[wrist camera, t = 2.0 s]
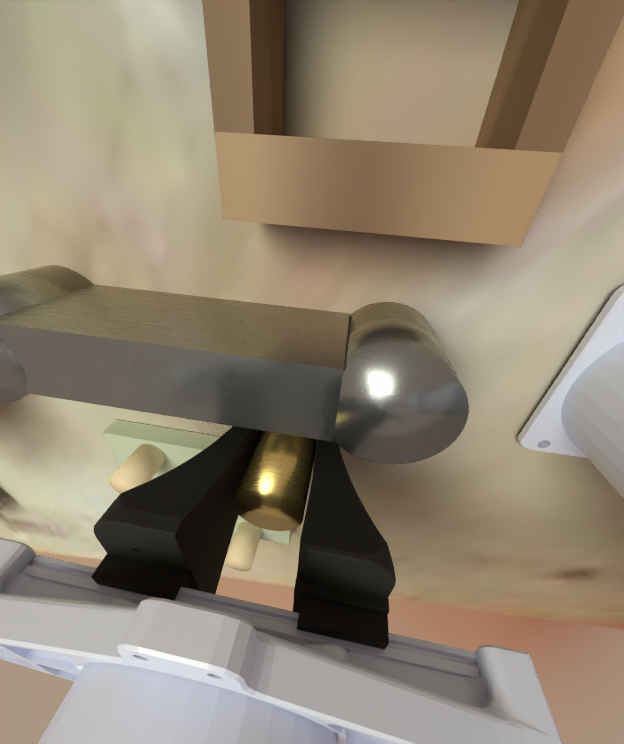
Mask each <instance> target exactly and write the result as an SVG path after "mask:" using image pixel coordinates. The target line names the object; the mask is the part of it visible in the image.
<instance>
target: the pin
mask: <svg viewBox="0 0 624 744" xmlns="http://www.w3.org/2000/svg"><path fill="white" fill-rule="evenodd" d="M315 450H316V439H313V438H306V437H300V436H294V435H287V434H281V433H275V432H269V431H263V432H262V435H261V437H260V439H259V442H258V444H257V446H256V449H255V451H254V454H253V456H252V458H251V461H250V463H249V465H248V468H247V470H246V472H245V475H244V477H243V480H242V482H241V484H240V487H239V489H238V491H237V494H236V496H235V498H234V508H235V510H236V511H237V513H238V514H239V515H240V516H241V517H242V518H243V519H244V520H246V521H247V522H249V523H251V524H252V525H255V526H257V527H260V528H263V529H267V530H272V531H287V530H291V529H294V528H296V527H298V526H299V525H300V524H301V523H302V520H303V516H304V510H305V505H306V499H307V494H308V488H309V483H310V477H311V472H312V467H313V461H314V456H315Z"/></svg>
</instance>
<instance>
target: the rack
mask: <svg viewBox="0 0 624 744" xmlns="http://www.w3.org/2000/svg"><path fill="white" fill-rule="evenodd" d="M102 434H103V436H104V438H105V440H106V442H107V444H108V446H109V448H110V450H111V452H112V454H113V457H114V459H115V461H116V463H117V465H118V467H119V469H118V470H117V471H116V472H115V473H114V475H113V476H112V477H111V478H110V479H109V484H110V485H111V487H112V488H113V489H114V490H116V491H117V492H119V493H120V494H121V493H122V492H125V491H127V490H130V489H132V488H134V487H137V486H139V485H141V484H144V483H146V482H148V481H150V480H152V479H154V478H156V477H158V476H160V475H162V474H164V473H166V472H168V471H170V470H172V469H174V468H176V467H177V466H179V465H181V464H182V463H184V462H186V461H187V460H189V459H191V458H192V457H194V456H195V455H197V454H198V453H200V452H201V451H203V450H204V449H206V448H207V447H208V446H210V445H211V444H212V443H214V442H215V441H216V440H217V439H219V438H220V437H219V436H213V435H207V434H201V433H195V432H189V431H183V430H177V429H171V428H165V427H159V426H153V425H147V424H141V423H135V422H129V421H123V420H117V419H116V420H115V421H114V422H113V423H112V424H111V425H110V426H109V427H107V428H106V429H105V430H104V431H103V432H102ZM233 534H235V536H234V539H233V541H232V544H231V547H230V549H229V552H228V555H227V557H226V560H225V563H226V564H227V565H228V566H229V567H230V568H232V569H235V570H238V571H249V570H250V569H251V566H252V563H253V560H254V556H255V553H256V550H257V546H258V543H259V540H260V539H263V540H268V541H273V542H278V543H283V544H288V545H289V543H290V539H291V534H292V529H291V530H287V531H272V530H267V529H263V528H260V527H257V526H255V525H252V524H251V523H249V522H247V521H246V520H244V519H243V518H242V517H241V516H240V515H239V516H238V519H237V522H236V525H235V528H234V531H233Z"/></svg>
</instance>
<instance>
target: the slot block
mask: <svg viewBox="0 0 624 744" xmlns="http://www.w3.org/2000/svg"><path fill="white" fill-rule="evenodd" d="M202 4H203V14H204V25H205V35H206V46H207V56H208V67H209V77H210V88H211V98H212V109H213V119H214V129H215V140H216V150H217V161H218V171H219V182H220V192H221V203H222V213H223V220H234V221H244V222H255V223H266V224H277V225H288V226H299V227H310V228H321V229H332V230H343V231H354V232H365V233H376V234H387V235H397V236H408V237H419V238H430V239H441V240H452V241H463V242H474V243H485V244H496V245H507V246H518V247H521V245H522V243H523V241H524V239H525V236H526V234H527V232H528V230H529V227H530V225H531V223H532V221H533V218H534V216H535V214H536V212H537V209H538V207H539V205H540V203H541V200H542V198H543V196H544V193H545V191H546V189H547V187H548V184H549V182H550V180H551V178H552V175H553V173H554V171H555V169H556V166H557V164H558V162H559V160H560V157H561V155H562V153H563V150H564V148H565V146H566V144H567V141H568V139H569V137H570V135H571V132H572V130H573V128H574V126H575V123H576V121H577V119H578V117H579V114H580V112H581V110H582V108H583V105H584V103H585V101H586V98H587V96H588V94H589V92H590V89H591V87H592V85H593V83H594V80H595V78H596V76H597V74H598V71H599V69H600V67H601V65H602V62H603V60H604V58H605V55H606V53H607V51H608V49H609V46H610V44H611V42H612V40H613V37H614V35H615V33H616V31H617V28H618V26H619V24H620V22H621V19H622V17H623V15H624V0H520V1H519V5H518V8H517V11H516V14H515V18H514V21H513V24H512V28H511V31H510V34H509V38H508V41H507V44H506V47H505V51H504V54H503V57H502V61H501V64H500V67H499V70H498V74H497V77H496V80H495V84H494V87H493V90H492V93H491V97H490V100H489V103H488V107H487V110H486V113H485V117H484V120H483V123H482V126H481V130H480V133H479V136H478V140H477V143H476V146H475V148H474V147H458V146H441V145H425V144H409V143H392V142H376V141H360V140H343V139H327V138H311V137H294V136H284V23H285V0H202Z"/></svg>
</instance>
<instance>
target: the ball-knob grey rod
mask: <svg viewBox="0 0 624 744" xmlns="http://www.w3.org/2000/svg"><path fill="white" fill-rule="evenodd" d="M28 394H36V395H42V396H48V397H55V398H61V399H67V400H74V401H80V402H86V403H92V404H99V405H105V406H111V407H118V408H124V409H130V410H136V411H143V412H149V413H155V414H162V415H168V416H174V417H180V418H187V419H193V420H199V421H206V422H212V423H218V424H224V425H231V426H237V427H243V428H250V429H256V430H262V431H269V432H275V433H281V434H287V435H294V436H300V437H306V438H313V439H319V440H325V441H331V442H333V440H334V441H335V442H336V443H337V444H338V445H339V446H340V447H342V448H343V449H344V450H346V451H347V452H349V453H351V454H352V455H354V456H357V457H359V458H361V459H364V460H368V461H371V462H376V463H383V464H405V463H412V462H416V461H420V460H423V459H426V458H429V457H431V456H433V455H436V454H437V453H439V452H441V451H443V450H444V449H445V448H447V447H448V446H449V445H451V444H452V443H453V442H454V441H455V440H456V439H457V437H458V436H459V435H460V433H461V432H462V430H463V428H464V426H465V424H466V421H467V417H468V407H469V405H468V399H467V396H466V393H465V391H464V389H463V387H462V385H461V383H460V381H459V379H458V377H457V376H456V374H455V372H454V370H453V368H452V366H451V364H450V362H449V361H448V359H447V357H446V355H445V353H444V351H443V349H442V347H441V346H440V344H439V342H438V340H437V338H436V336H435V334H434V332H433V331H432V329H431V327H430V325H429V323H428V322H427V320H426V319H425V318H424V317H423V316H422V315H421V314H420V313H419V312H417V311H416V310H414V309H413V308H411V307H409V306H406V305H403V304H400V303H394V302H380V303H374V304H370V305H367V306H365V307H363V308H360V309H358V310H357V311H355V312H354V313H352V314H351V315H350V316H349V314H346V313H338V312H329V311H320V310H312V309H303V308H294V307H285V306H277V305H268V304H259V303H250V302H242V301H233V300H224V299H216V298H207V297H198V296H189V295H181V294H172V293H163V292H154V291H146V290H137V289H128V288H120V287H111V286H102V285H93V284H92V283H91V282H90V281H89V280H87V279H86V278H85V277H83V276H82V275H80V274H78V273H77V272H75V271H73V270H70V269H68V268H65V267H61V266H53V265H50V266H44V267H40V268H35V269H30V270H26V271H21V272H16V273H12V274H7V275H3V276H0V401H4V402H11V401H16V400H19V399H21V398H23V397H24V396H26V395H28Z"/></svg>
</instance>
